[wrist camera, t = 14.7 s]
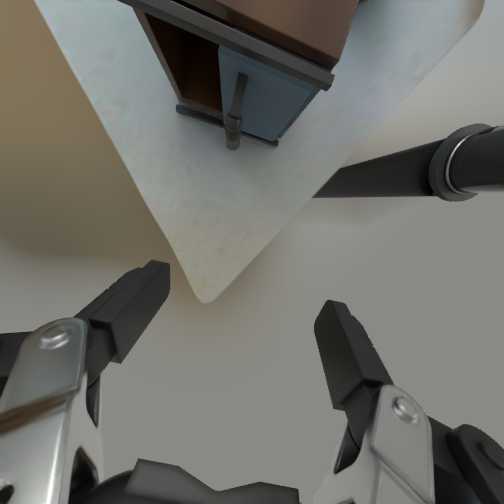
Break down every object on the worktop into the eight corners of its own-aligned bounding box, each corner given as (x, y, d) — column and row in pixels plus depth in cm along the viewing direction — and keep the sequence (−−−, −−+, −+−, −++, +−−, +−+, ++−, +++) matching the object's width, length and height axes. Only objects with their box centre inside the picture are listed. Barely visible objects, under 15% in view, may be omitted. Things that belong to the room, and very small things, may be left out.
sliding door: (274, 137, 27) (314, 82, 14) (266, 169, 28) (296, 144, 15) (224, 119, 25) (219, 41, 13) (217, 153, 26) (207, 111, 14)
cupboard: (301, 58, 26) (406, -149, 10) (276, 147, 28) (331, 86, 13) (192, 8, 23) (117, -373, 8) (176, 112, 26) (99, -17, 10)
